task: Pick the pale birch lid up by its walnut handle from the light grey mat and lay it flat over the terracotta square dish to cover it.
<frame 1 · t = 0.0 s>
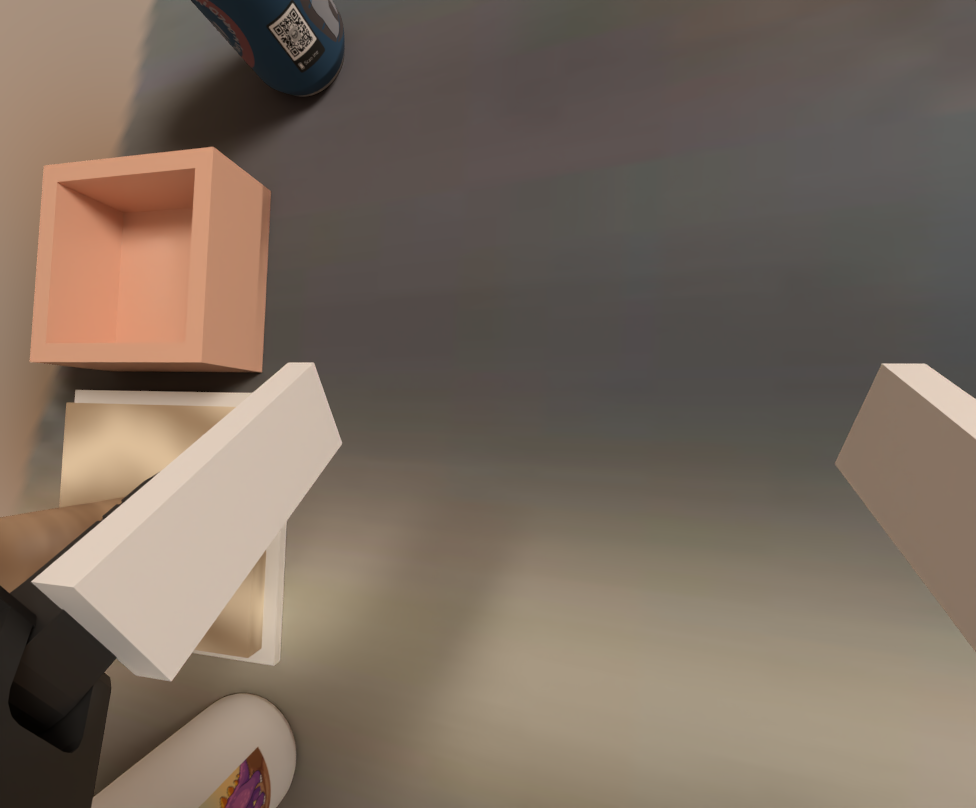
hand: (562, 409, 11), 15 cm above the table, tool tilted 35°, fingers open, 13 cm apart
lid: (167, 518, 30), point 1 cm above the table, touching mat
milk bottle: (252, 744, 29), on the table
dish: (188, 284, 31), on the table
soda can: (310, 61, 30), on the table
mat: (175, 516, 31), on the table
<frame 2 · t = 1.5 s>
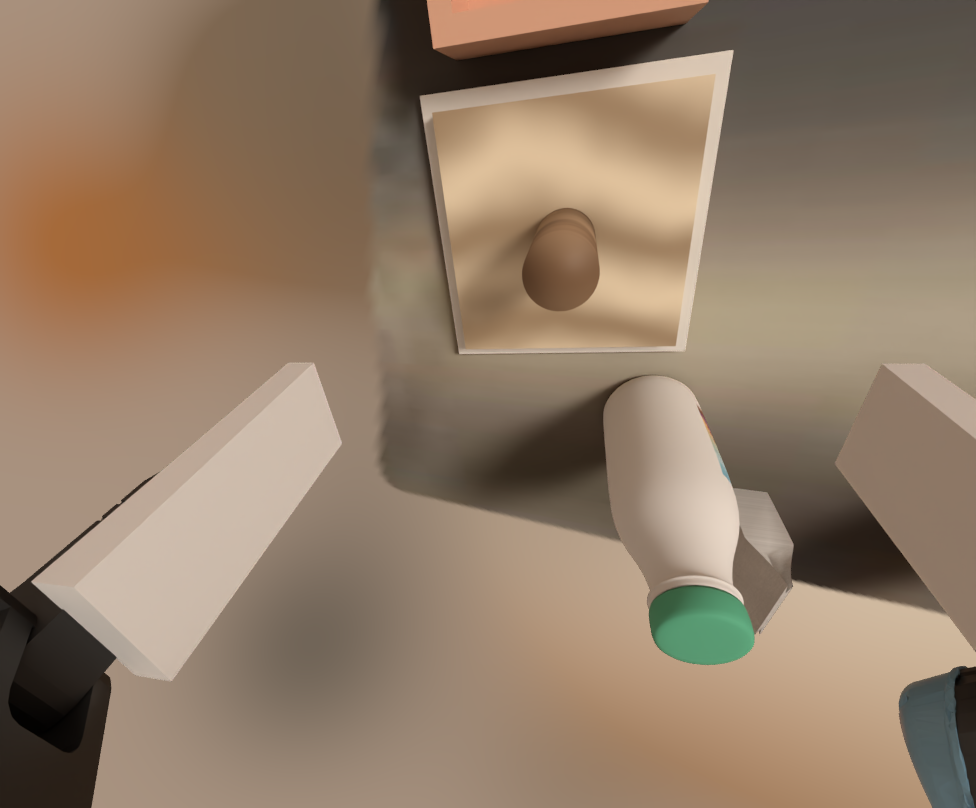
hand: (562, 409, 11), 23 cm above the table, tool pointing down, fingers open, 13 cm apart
lid: (565, 236, 30), point 1 cm above the table, touching mat
milk bottle: (648, 409, 37), on the table
grey box: (733, 513, 41), on the table
mat: (565, 234, 30), on the table
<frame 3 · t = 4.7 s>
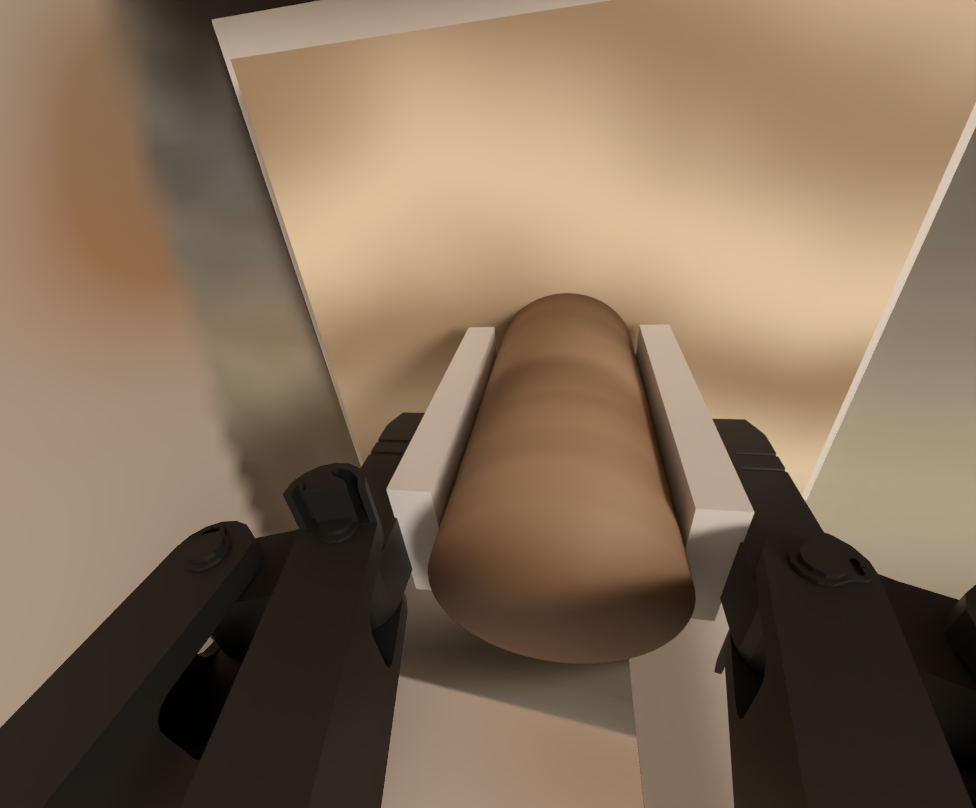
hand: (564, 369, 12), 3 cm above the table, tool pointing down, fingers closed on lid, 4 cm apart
lid: (565, 339, 14), point 1 cm above the table, touching gripper, mat
milk bottle: (702, 601, 22), on the table
mat: (565, 332, 14), on the table
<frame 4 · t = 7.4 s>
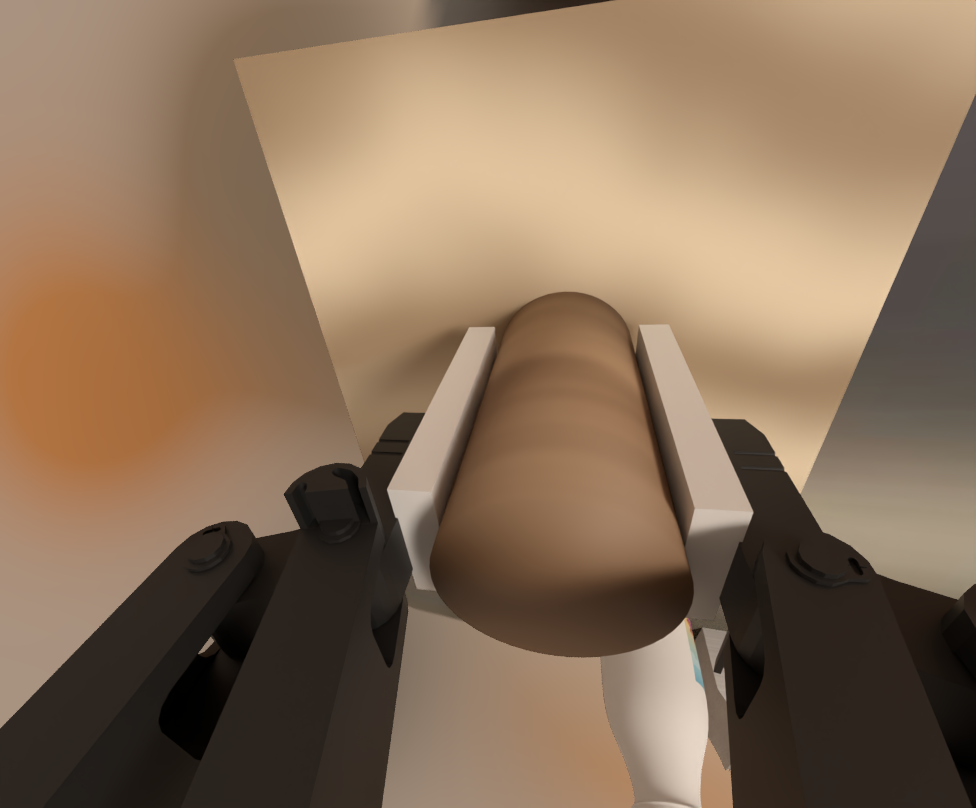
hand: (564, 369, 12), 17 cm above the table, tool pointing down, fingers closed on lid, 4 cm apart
lid: (565, 338, 14), point 14 cm above the table, touching gripper
milk bottle: (636, 570, 42), on the table
grey box: (710, 644, 47), on the table
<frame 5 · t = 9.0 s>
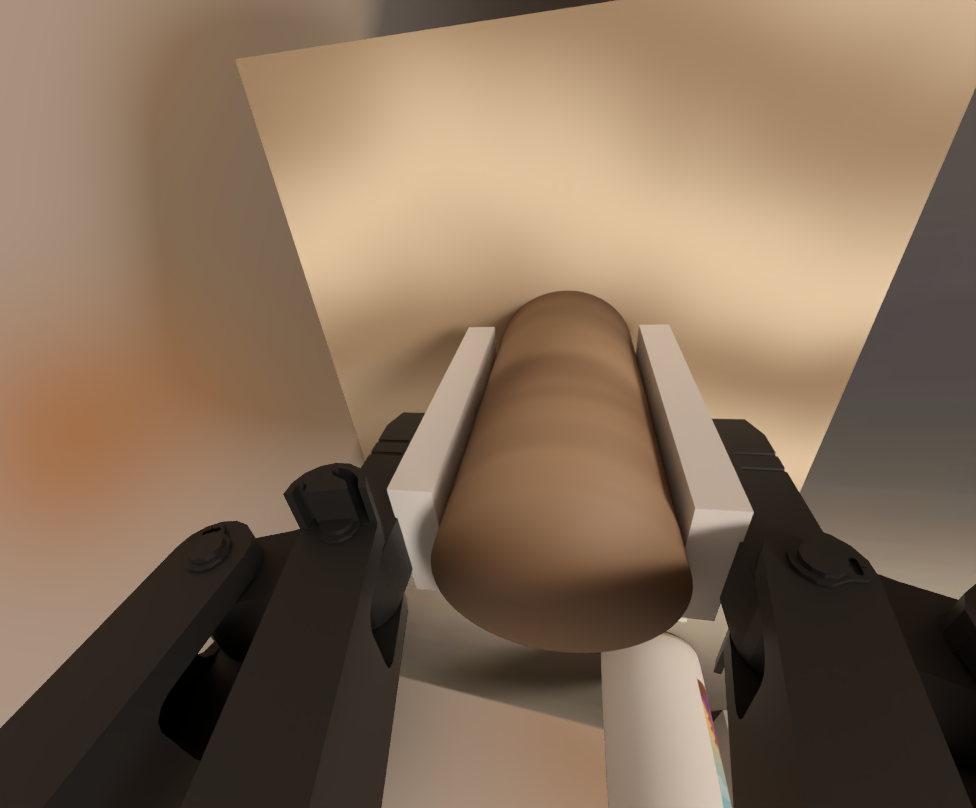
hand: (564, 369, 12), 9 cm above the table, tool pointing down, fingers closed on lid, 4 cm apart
lid: (565, 337, 14), point 7 cm above the table, touching gripper
milk bottle: (647, 649, 36), on the table
grey box: (731, 725, 41), on the table
when the fingers open (8 cm above the table, at t = 10.3 s): lid stays where it is, resting on dish.
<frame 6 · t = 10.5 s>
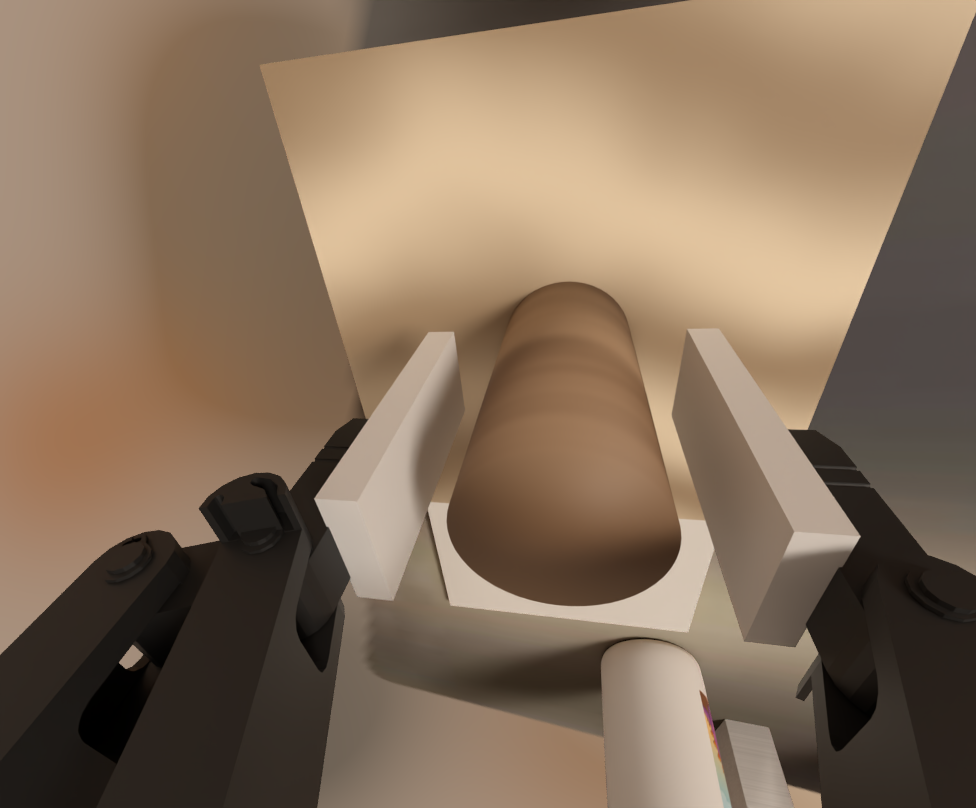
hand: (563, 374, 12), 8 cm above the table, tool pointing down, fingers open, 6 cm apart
lid: (566, 327, 15), point 5 cm above the table, touching dish
milk bottle: (647, 658, 35), on the table
grey box: (733, 734, 40), on the table
mat: (564, 534, 28), on the table
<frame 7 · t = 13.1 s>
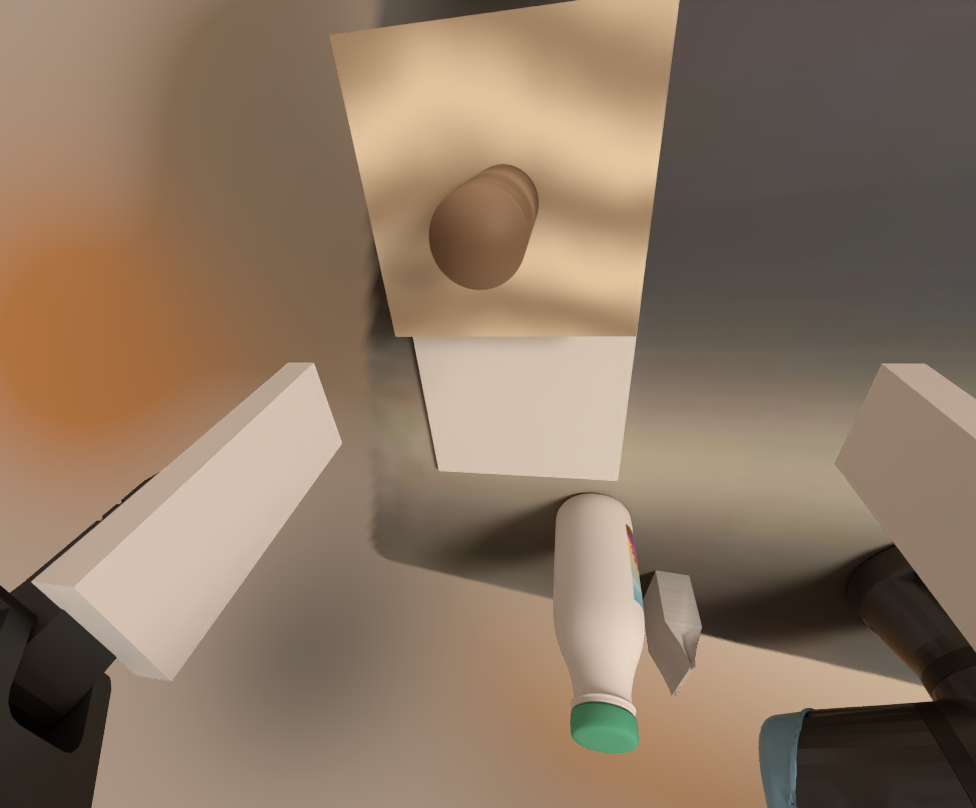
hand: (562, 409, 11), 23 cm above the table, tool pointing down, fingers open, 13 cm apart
lid: (505, 201, 25), point 5 cm above the table, touching dish
milk bottle: (592, 514, 45), on the table
grey box: (664, 588, 51), on the table
mat: (522, 397, 38), on the table
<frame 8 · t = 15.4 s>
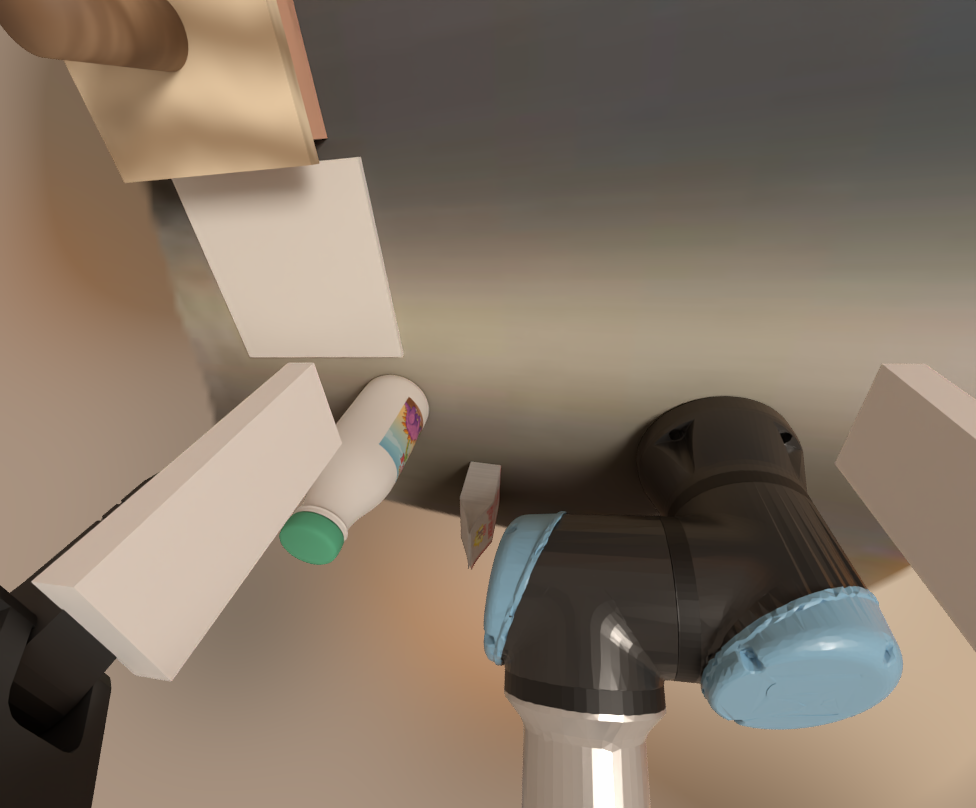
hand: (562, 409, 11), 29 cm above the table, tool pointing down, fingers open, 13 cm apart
lid: (172, 35, 28), point 5 cm above the table, touching dish
milk bottle: (398, 400, 48), on the table
grey box: (485, 482, 53), on the table
dish: (223, 45, 32), on the table
mat: (298, 271, 41), on the table
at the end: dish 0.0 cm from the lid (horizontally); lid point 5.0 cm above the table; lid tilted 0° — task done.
